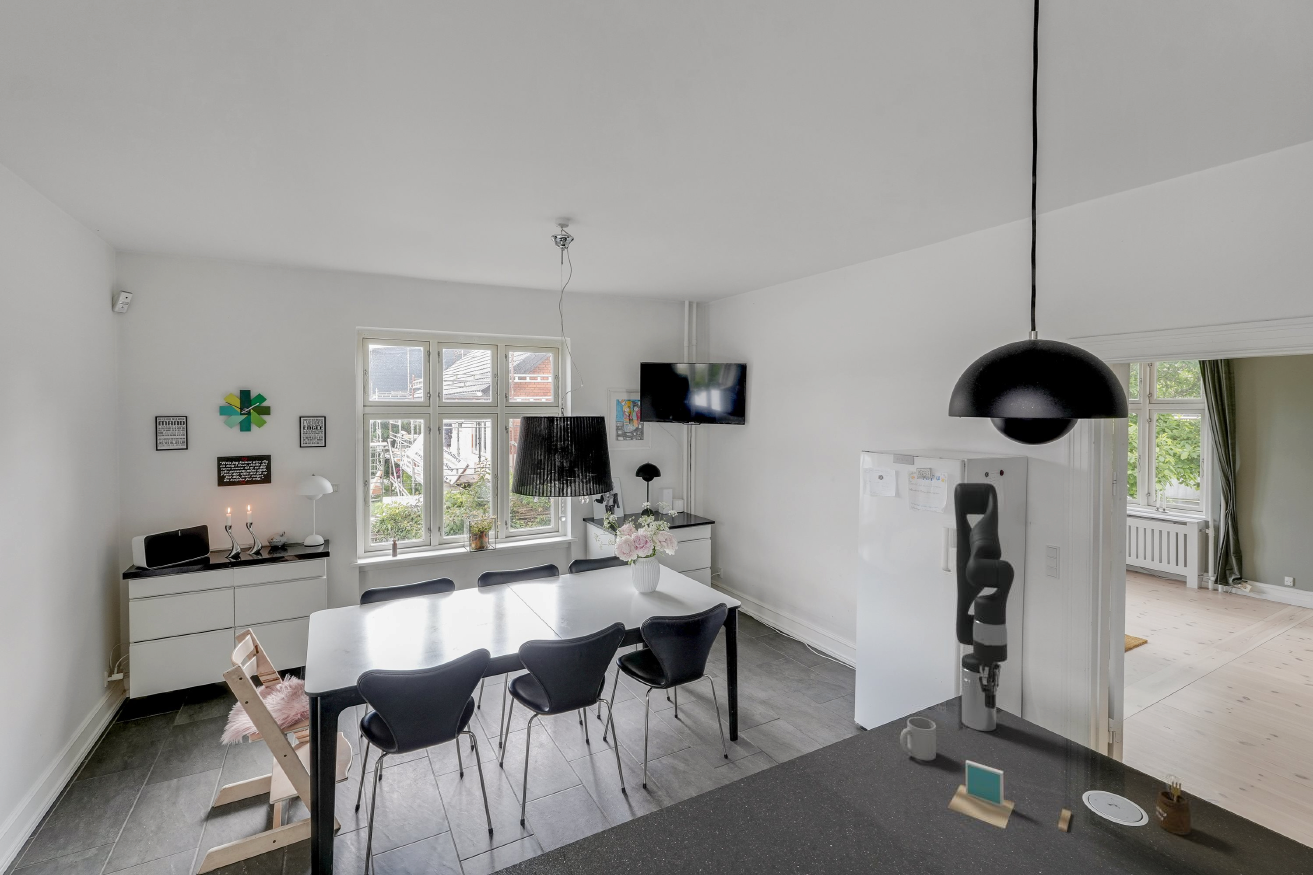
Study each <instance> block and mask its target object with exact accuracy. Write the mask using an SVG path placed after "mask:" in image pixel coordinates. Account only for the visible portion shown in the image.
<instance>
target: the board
mask: <svg viewBox="0 0 1313 875" xmlns="http://www.w3.org/2000/svg"><path fill="white" fill-rule="evenodd" d="M1003 799H1004V798H1003ZM1015 804H1016V803H1015V802H1013V801H1010V800H1008V799H1004V805H1003V807H1001V806H998V805H995V804H992V803H990V802H987V801H984V800H981V799H978V798H975V797H972V796H970V795H967V794H966V785H964V784H959V786H958V788H957V790H956V792H955V794H954V795H953V797H952V799H951V801H949V804H948V806H947V808H948V809H950V810H953V811H955V812H957V813H961V814H964V815H967V816H969V817H972V818H975V819H976V820H980V821H983V822H984V823H985V822H986V823H988V824H991V825H993V826H996V827H999V828H1001V829H1006V827H1007V825H1008V821H1009V819H1010V818H1011V814H1012V811H1013V809H1014V806H1015Z"/></svg>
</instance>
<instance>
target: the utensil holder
mask: <svg viewBox="0 0 1313 875" xmlns="http://www.w3.org/2000/svg"><path fill="white" fill-rule="evenodd" d="M1168 776H1169V777H1168ZM1166 777H1168V778H1167V784H1166V785H1165V786H1166V790H1165V789H1164V790H1160V791H1159V792H1158V799H1157V800H1156V806H1155V807H1156V808H1155V810H1156V812H1155V814H1156V816H1155V818H1156V819H1155V820H1156V822H1157V824H1158V826H1159V827H1160V828H1161V829H1164V830H1165V831H1167V832H1168V833H1171V834H1173V835H1178V836H1187V835H1189V834H1190V833H1191V827H1192V824H1191V823H1192V817H1191V816H1192V815H1191V811H1190V808H1189V806H1190V805H1189V801H1188V798H1186V797H1185V796H1184V795H1183V794H1181V791H1182V783H1181V782H1180V781H1179V779H1178V777H1177V776H1176V775H1174V774H1171V773H1170V774H1167V775H1166ZM1171 777H1173V778H1175V779H1176V781H1174V780H1171V790H1170V788H1168V787H1169V785H1170V784H1169V782H1170V781H1169V779H1170V778H1171Z"/></svg>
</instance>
